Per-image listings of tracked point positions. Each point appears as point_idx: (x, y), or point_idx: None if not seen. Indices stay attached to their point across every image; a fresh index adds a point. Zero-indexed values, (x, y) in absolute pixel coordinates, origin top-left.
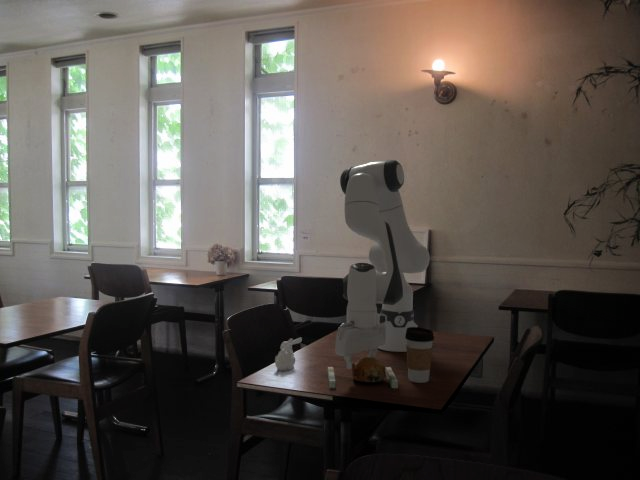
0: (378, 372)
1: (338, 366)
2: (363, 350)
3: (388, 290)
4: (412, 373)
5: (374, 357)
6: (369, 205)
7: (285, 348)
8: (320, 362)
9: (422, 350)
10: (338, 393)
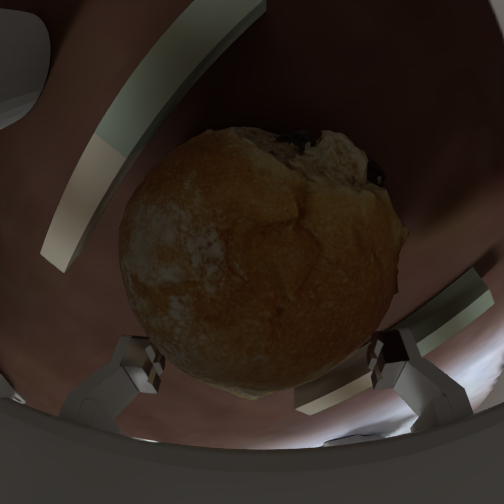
0: (277, 156)
1: (206, 406)
2: (303, 455)
3: None
4: (16, 48)
5: (113, 357)
6: None
7: None
8: (226, 437)
9: None
10: None
